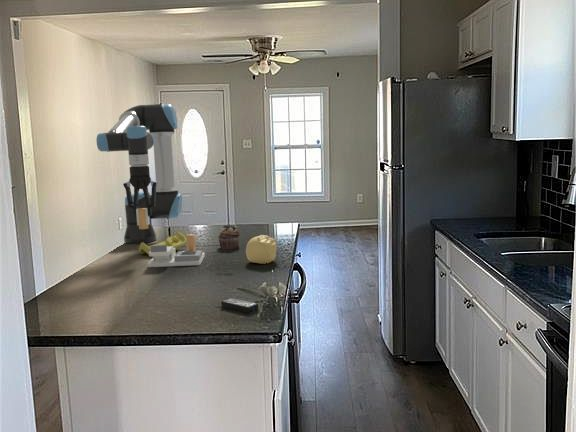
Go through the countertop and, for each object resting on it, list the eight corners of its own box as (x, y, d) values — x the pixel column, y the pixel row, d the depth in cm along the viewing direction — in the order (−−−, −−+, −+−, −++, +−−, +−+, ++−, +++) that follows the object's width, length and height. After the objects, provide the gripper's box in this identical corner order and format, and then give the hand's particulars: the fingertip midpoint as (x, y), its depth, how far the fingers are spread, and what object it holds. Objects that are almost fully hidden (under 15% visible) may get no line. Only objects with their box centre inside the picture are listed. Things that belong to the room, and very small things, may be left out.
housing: (156, 258, 230) (154, 235, 229) (204, 255, 231) (203, 233, 229) (147, 267, 215) (145, 242, 213) (199, 264, 215) (198, 240, 214)
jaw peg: (140, 228, 224) (138, 208, 223) (149, 227, 224) (147, 207, 223) (138, 229, 221) (136, 209, 220) (147, 229, 221) (145, 209, 220)
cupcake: (242, 245, 251) (240, 223, 250) (238, 249, 242) (236, 226, 240) (221, 245, 252) (220, 223, 251) (216, 249, 243) (215, 227, 241)
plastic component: (153, 252, 231) (139, 240, 235) (151, 267, 234) (137, 254, 239) (190, 241, 245) (176, 229, 250) (187, 254, 248) (174, 243, 253)
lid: (154, 251, 222) (153, 241, 221) (173, 250, 222) (172, 240, 221) (149, 256, 212) (148, 246, 211) (168, 255, 212) (167, 245, 212)
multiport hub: (231, 305, 164) (231, 297, 164) (259, 311, 157) (258, 303, 157) (220, 308, 161) (220, 301, 160) (248, 315, 154) (248, 307, 153)
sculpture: (273, 266, 209) (272, 237, 207) (243, 265, 211) (241, 237, 210) (280, 259, 220) (279, 232, 218) (251, 258, 222) (249, 232, 221)
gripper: (116, 166, 216) (120, 226, 219) (157, 165, 216) (161, 225, 219) (121, 166, 223) (126, 223, 226) (161, 164, 223) (165, 222, 226)
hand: (143, 224), depth 223 cm, fingers closed on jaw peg, 3 cm apart
